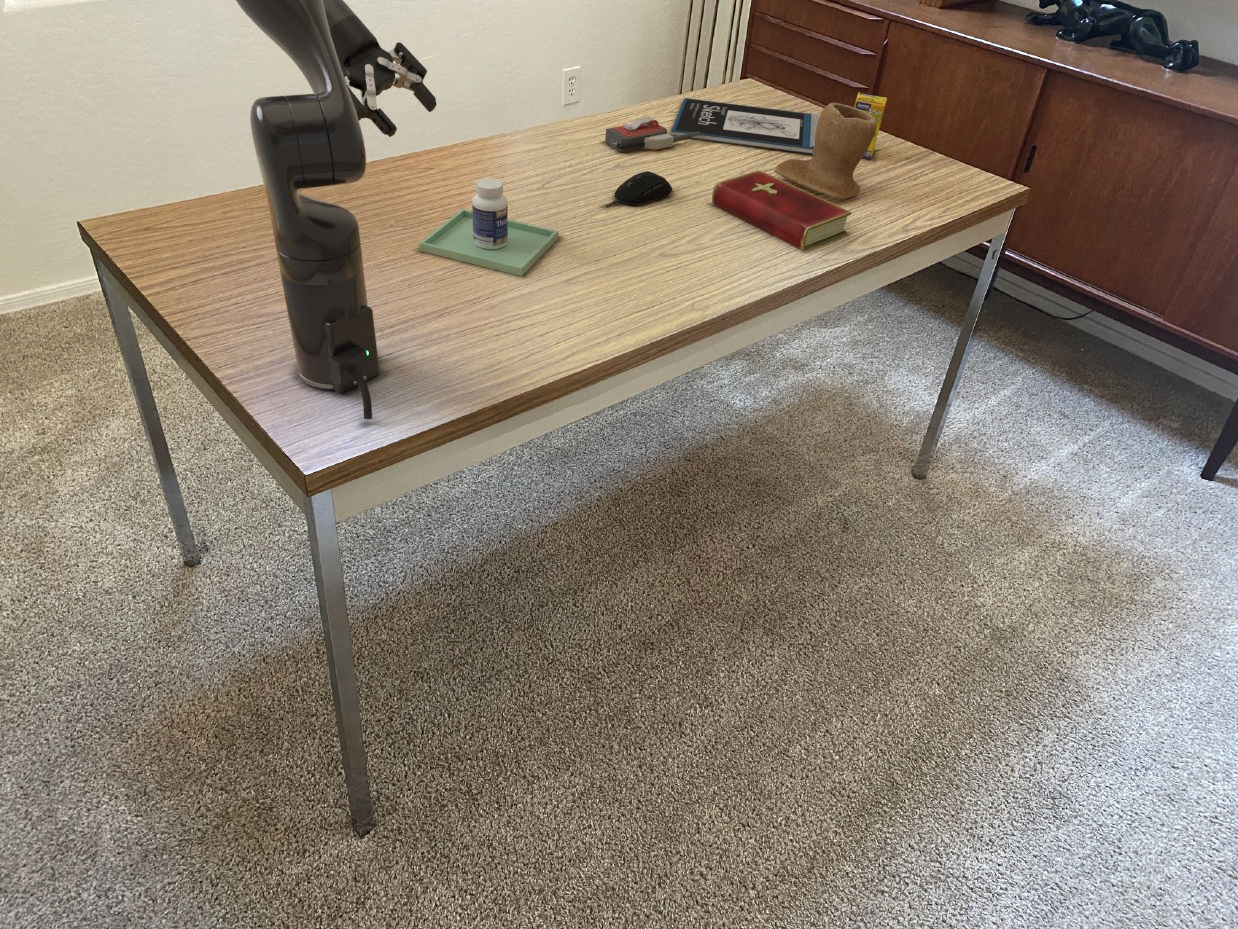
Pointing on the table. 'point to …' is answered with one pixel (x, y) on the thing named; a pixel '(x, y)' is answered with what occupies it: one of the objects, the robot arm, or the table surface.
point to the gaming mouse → (642, 189)
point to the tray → (512, 258)
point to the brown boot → (834, 152)
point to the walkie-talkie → (642, 136)
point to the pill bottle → (490, 214)
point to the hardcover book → (781, 209)
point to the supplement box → (874, 108)
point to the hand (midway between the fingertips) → (414, 120)
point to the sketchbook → (747, 125)
